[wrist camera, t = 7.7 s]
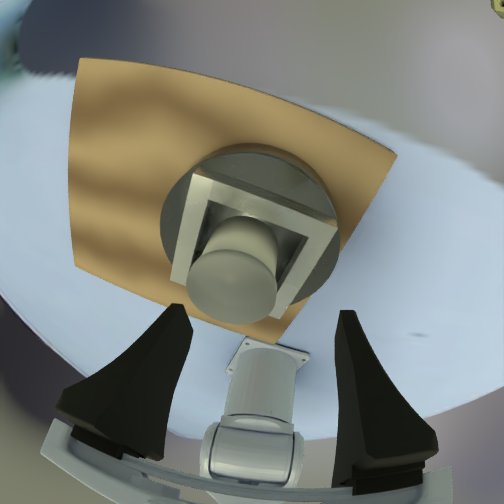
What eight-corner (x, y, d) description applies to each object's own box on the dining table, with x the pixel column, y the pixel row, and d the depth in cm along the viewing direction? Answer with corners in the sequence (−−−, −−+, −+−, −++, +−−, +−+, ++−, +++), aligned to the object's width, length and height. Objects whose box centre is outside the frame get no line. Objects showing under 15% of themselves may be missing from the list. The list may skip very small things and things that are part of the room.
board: (275, 337, 30) (274, 344, 29) (79, 260, 28) (75, 266, 27) (393, 151, 16) (397, 155, 16) (87, 57, 14) (80, 58, 14)
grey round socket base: (294, 301, 24) (291, 338, 21) (165, 254, 24) (145, 287, 20) (365, 185, 17) (380, 215, 14) (196, 119, 16) (169, 133, 13)
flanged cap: (265, 283, 20) (257, 333, 16) (201, 259, 19) (179, 306, 16) (293, 230, 17) (291, 279, 13) (218, 201, 16) (195, 243, 13)
